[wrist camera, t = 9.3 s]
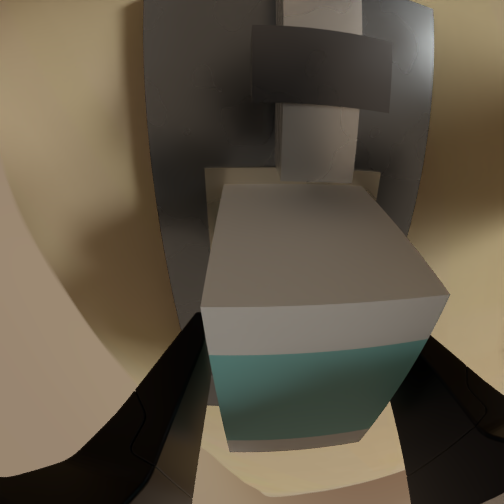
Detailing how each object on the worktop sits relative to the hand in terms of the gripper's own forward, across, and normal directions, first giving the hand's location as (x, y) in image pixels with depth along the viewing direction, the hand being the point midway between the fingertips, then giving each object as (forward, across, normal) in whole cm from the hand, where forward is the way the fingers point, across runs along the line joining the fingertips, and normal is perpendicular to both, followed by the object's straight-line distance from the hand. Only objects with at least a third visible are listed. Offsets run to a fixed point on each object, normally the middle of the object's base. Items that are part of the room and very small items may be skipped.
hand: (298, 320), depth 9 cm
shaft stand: (+4, 0, 0) cm, 4 cm away
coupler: (+2, 0, 0) cm, 2 cm away
